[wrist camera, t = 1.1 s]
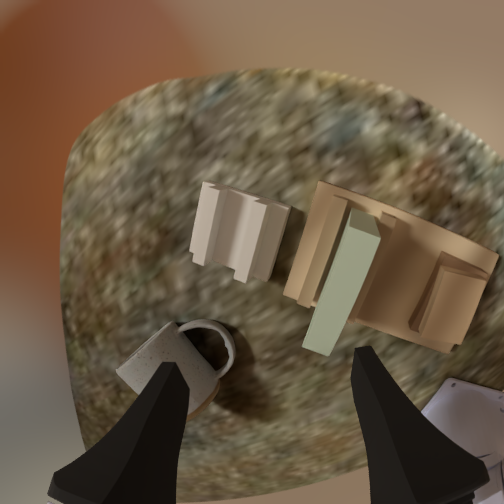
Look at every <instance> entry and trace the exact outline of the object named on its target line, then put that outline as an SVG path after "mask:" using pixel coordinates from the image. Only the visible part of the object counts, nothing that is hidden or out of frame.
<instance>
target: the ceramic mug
mask: <svg viewBox="0 0 504 504" xmlns="http://www.w3.org/2000/svg"><path fill="white" fill-rule="evenodd" d="M196 327H202V328H207V329H213V330H216V331H218V332H219V333H220V334H221V336H222V337H223V338H224V341H225V347H227V349H228V353H229V356H230V357H229V360H228V361H227V362H226V364H225V365H224V366H223V367H222V368H221V369H219V370H218V371H215V370H214V369H213V367H212V366H211V365H210V364H209V363H208V362H207V361H206V360H205V358H204V357H203V356H202V355H201V354H200V353H199V352H198V351H197V349H196V348H195V347H194V345H193V344H192V343H191V342H190V340H189V339H188V338H187V337H186V336H185V334H184V333H183V331H186V330H188V329H192V328H196ZM234 358H235V344H234V340H233V338H232V336H231V335H230V333H229V332H228V330H227V329H226V328H225V327H223V326H222V325H221V324H219V323H218V322H216V321H213V320H207V319H199V320H194V321H191V322H188V323H186V324H183V325H182V326H180V327H178V326H177V325H176V324H175V322H173V321H171V322H169V323H168V324H167V325H165V326H164V327H163V328H162V329H160V330H159V331H158V332H157V333H156V334H154V335H153V336H152V337H151V338H150V339H149V340H147V341H146V342H145V343H144V344H143V345H141V347H140V348H138V349H137V350H136V351H135V352H134V353H133V354H132V355H131V356H130V357H129V358H128V359H127V360H125V361H124V362H123V363H122V364H121V365H120V366H119V367H118V368H117V369H116V373H117V374H118V375H119V376H120V377H121V378H122V379H123V380H124V381H125V382H126V383H127V384H128V385H129V386H130V387H131V388H132V389H133V390H134V391H135V392H136V393H137V394H138V395H139V394H140V393H141V392H142V390H143V389H144V387H145V386H146V384H147V383H148V382H149V380H150V379H151V377H152V376H153V374H154V373H155V371H156V370H157V368H158V367H159V365H160V364H161V363H162V362H176V364H177V365H178V367H179V369H180V371H181V373H182V375H183V377H184V379H185V381H186V383H187V384H188V386H189V388H190V397H189V408H188V414H187V419H186V422H187V421H189V420H191V419H192V418H194V417H195V416H197V415H198V414H199V413H200V412H202V411H203V410H204V409H205V408H206V407H207V406H208V405H209V404H210V403H211V402H212V400H213V399H214V398H215V396H216V395H217V393H218V391H219V388H220V378H221V377H222V376H223V375H225V373H226V372H227V371H228V370H229V369H230V367H231V365H232V364H233V361H234Z"/></svg>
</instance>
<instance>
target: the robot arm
mask: <svg viewBox="0 0 504 504" xmlns="http://www.w3.org/2000/svg"><path fill="white" fill-rule="evenodd" d="M453 383H455V384H453ZM452 384H453V385H452ZM351 385H352V391H353V398H354V403H355V406H356V410H357V414H358V418H359V422H360V426H361V430H362V434H363V438H364V442H365V446H366V451H367V459H368V468H369V479H370V496H371V504H504V392H502V391H498V390H494V389H490V388H487V387H483V386H479V385H476V384H472V383H469V382H465V381H462V380H458V379H455V378H448V379H446V380H445V382H444V383H443V384H442V386H441V387H440V388H439V390H438V391H437V392H436V394H435V395H434V396H433V398H432V399H431V400H430V401H429V403H428V404H427V405H426V406H425V407H424V409H423V410H422V411H421V412H420V411H419V410H418V409H417V408H416V406H415V405H414V404H413V403H412V402H411V401H410V400H409V398H408V397H407V396H406V395H405V394H404V392H403V391H402V390H401V389H400V387H399V386H398V385H397V383H396V382H395V381H394V379H393V378H392V377H391V375H390V374H389V372H388V371H387V370H386V368H385V367H384V365H383V364H382V362H381V361H380V359H379V358H378V356H377V355H376V353H375V351H374V350H373V348H372V347H371V346H365V347H359V348H355V352H354V359H353V365H352V372H351ZM189 397H190V388H189V386H188V384H187V383H186V381H185V379H184V377H183V375H182V373H181V371H180V369H179V367H178V365H177V364H176V362H162V363H161V364H160V365H159V367H158V368H157V370H156V371H155V373H154V374H153V376H152V377H151V379H150V380H149V382H148V383H147V384H146V386H145V387H144V389H143V390H142V392H141V393H140V394H139V396H138V397H137V398H136V400H135V401H134V403H133V404H132V405H131V406H130V408H129V409H128V410H127V411H126V413H125V414H124V415H123V416H122V418H121V419H120V420H119V421H118V422H117V423H116V425H115V426H114V427H113V428H112V429H111V430H110V431H109V432H108V433H107V434H106V435H105V436H104V437H103V438H102V439H101V440H100V441H99V442H97V443H96V444H95V445H94V446H93V447H92V448H91V449H89V450H88V451H87V452H85V453H84V454H83V455H81V456H80V457H79V458H77V459H76V460H75V461H73V462H72V463H70V464H68V465H67V466H65V467H63V468H62V469H60V470H58V471H56V472H54V475H53V478H52V481H51V484H50V487H49V490H48V493H47V494H48V496H50V497H52V498H54V499H56V500H57V501H59V502H61V503H63V504H176V480H177V466H178V457H179V452H180V447H181V442H182V438H183V433H184V428H185V424H186V419H187V414H188V408H189ZM47 504H54V503H52V502H49V501H48V502H47Z"/></svg>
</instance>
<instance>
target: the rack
mask: <svg viewBox="0 0 504 504" xmlns="http://www.w3.org/2000/svg"><path fill="white" fill-rule="evenodd" d="M351 208H355V209H358V210H360V211H363V212H366V213H369V214H371V215H373V216H374V219H375V222H376V225H377V228H378V231H379V234H380V237H381V240H380V242H379V245H378V247H377V250H376V253H375V255H374V258H373V260H372V263H371V265H370V268H369V270H368V273H367V275H366V277H365V280H364V282H363V285H362V287H361V289H360V292H359V294H358V296H357V298H356V301H355V303H354V305H353V307H352V309H351V312H350V314H349V316H348V318H347V320H346V322H348V323H350V324H353V323H354V321H355V322H357V323H360V324H363V325H366V326H368V327H371V328H374V329H377V330H379V331H382V332H385V333H388V334H391V335H394V336H396V337H399V338H402V339H405V340H408V341H411V342H413V343H416V344H419V345H422V346H425V347H428V348H431V349H434V350H437V351H440V352H443V353H446V354H448V353H449V352H450V350H451V349H452V347H453V346H454V344H453V343H452V344H449V343H446V342H442V341H437V340H431V339H426V338H421V337H420V333H418V332H415V331H412V330H410V328H409V324H408V321H409V319H410V317H411V315H412V313H413V311H414V309H415V307H416V305H417V303H418V301H419V299H420V297H421V295H422V293H423V291H424V289H425V287H426V285H427V283H428V280H429V278H430V276H431V274H432V272H433V269H434V267H435V265H436V262H437V260H438V258H439V255H440V253H441V251H444V252H446V253H448V254H451V255H453V256H455V257H457V258H460V259H462V260H464V261H466V262H468V263H471V264H473V265H475V266H477V267H479V268H481V269H483V270H484V271H485V272H486V273H487V274H488V276H487V278H486V284H485V287H486V285H487V282H488V280H489V278H490V276H491V274H492V271H493V269H494V267H495V264H496V262H497V259H498V257H499V255H498V254H497V253H495V252H494V251H492V250H490V249H488V248H486V247H484V246H482V245H480V244H478V243H476V242H474V241H472V240H470V239H468V238H466V237H463V236H461V235H459V234H457V233H455V232H453V231H450V230H448V229H446V228H444V227H441V226H439V225H437V224H435V223H432V222H430V221H428V220H425V219H423V218H421V217H418V216H416V215H413V214H411V213H409V212H406V211H404V210H401V209H399V208H396V207H394V206H391V205H388V204H386V203H383V202H381V201H378V200H375V199H373V198H370V197H367V196H364V195H362V194H359V193H356V192H353V191H351V190H348V189H345V188H342V187H339V186H336V185H333V184H330V183H327V182H324V181H321V180H320V181H319V182H318V185H317V189H316V192H315V195H314V199H313V202H312V205H311V209H310V212H309V215H308V218H307V222H306V225H305V228H304V231H303V234H302V238H301V241H300V244H299V247H298V250H297V253H296V256H295V259H294V262H293V265H292V269H291V272H290V275H289V278H288V281H287V284H286V287H285V289H284V292H283V295H286V296H288V297H291V298H293V299H296V300H297V304H300V305H302V306H305V307H308V308H310V305H312V306H314V307H316V306H317V303H318V300H319V297H320V294H321V291H322V289H323V286H324V284H325V281H326V279H327V276H328V273H329V271H330V268H331V265H332V263H333V260H334V257H335V254H336V252H337V249H338V246H339V243H340V240H341V238H342V235H343V232H344V229H345V226H346V223H347V220H348V217H349V214H350V211H351ZM485 287H484V289H485ZM483 291H484V290H483ZM482 293H483V292H482Z"/></svg>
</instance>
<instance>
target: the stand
mask: <svg viewBox="0 0 504 504" xmlns="http://www.w3.org/2000/svg"><path fill="white" fill-rule="evenodd" d="M291 207H292V206H289V205H286V204H283V203H280V202H277V201H274V200H271V199H268V198H265V197H262V196H258V195H255V194H252V193H249V192H246V191H242V190H239V189H236V188H233V187H229V186H226V185H223V184H219V183H216V182H212V181H203V185H202V189H201V194H200V199H199V204H198V209H197V214H196V219H195V224H194V229H193V234H192V240H191V245H190V250H189V251H190V252H193V253H194V255H193V261H192V262H195V263H197V264H200V265H202V266H204V265H206V264H207V263H209V262H210V261H215V262H217V263H220V264H222V265H225V266H227V267H230V268H232V269H235V274H234V279H236V280H239V281H241V282H244V283H246V282H247V281H248V280H249V279H250V278H251V277H252V276H253V277H255V278H258V279H260V280H263V281H266V282H267V281H268V280H269V278H270V277H271V274H272V270H273V267H274V264H275V261H276V257H277V254H278V251H279V247H280V244H281V241H282V237H283V234H284V231H285V227H286V224H287V220H288V217H289V214H290V210H291Z"/></svg>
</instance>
